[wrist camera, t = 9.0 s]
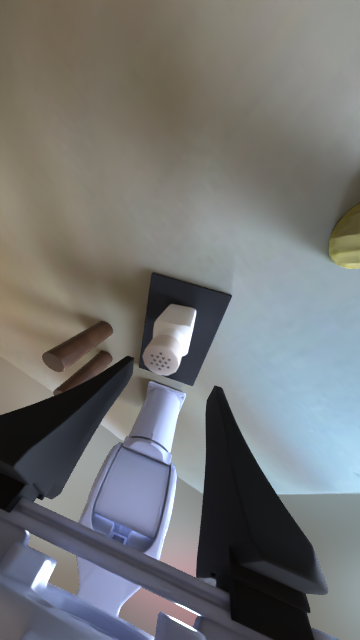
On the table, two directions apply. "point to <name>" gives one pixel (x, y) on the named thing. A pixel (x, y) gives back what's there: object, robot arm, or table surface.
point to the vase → (346, 240)
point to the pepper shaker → (170, 339)
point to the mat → (205, 326)
